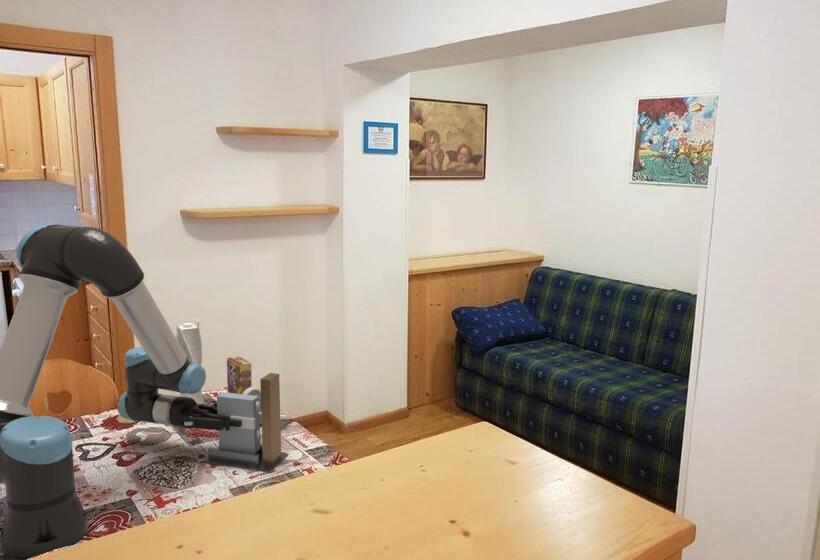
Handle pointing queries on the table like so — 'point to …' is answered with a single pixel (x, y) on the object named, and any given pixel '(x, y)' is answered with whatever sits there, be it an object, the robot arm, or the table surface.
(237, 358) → the candy box
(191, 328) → the skyscraper
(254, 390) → the watch
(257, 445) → the door panel
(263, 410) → the base
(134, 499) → the table surface
